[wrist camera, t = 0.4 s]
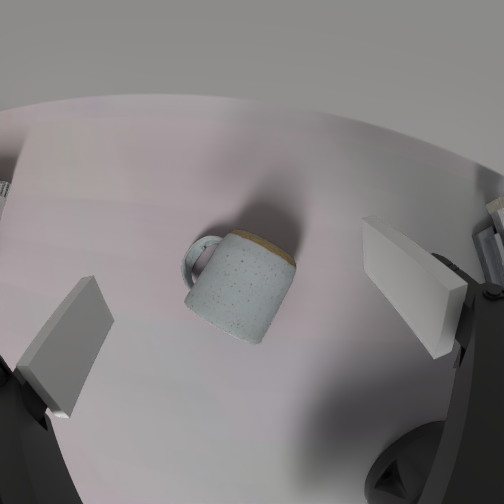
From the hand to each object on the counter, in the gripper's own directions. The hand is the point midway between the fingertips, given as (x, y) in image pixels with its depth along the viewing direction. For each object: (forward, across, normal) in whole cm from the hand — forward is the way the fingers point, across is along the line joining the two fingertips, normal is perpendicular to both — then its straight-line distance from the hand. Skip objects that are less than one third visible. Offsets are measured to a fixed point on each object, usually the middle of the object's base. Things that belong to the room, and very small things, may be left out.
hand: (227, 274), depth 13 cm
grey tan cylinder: (+14, +1, +8) cm, 17 cm away
